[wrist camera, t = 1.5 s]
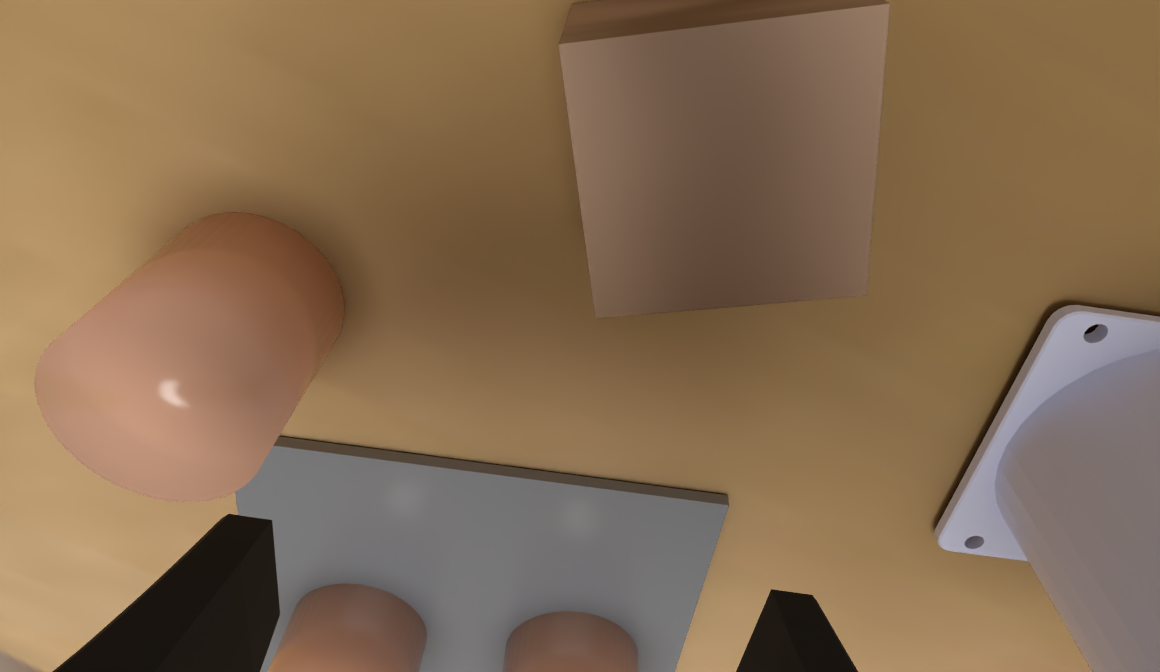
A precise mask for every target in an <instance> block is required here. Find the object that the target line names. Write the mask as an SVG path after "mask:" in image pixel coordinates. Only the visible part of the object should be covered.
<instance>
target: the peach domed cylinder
mask: <svg viewBox="0 0 1160 672" xmlns="http://www.w3.org/2000/svg"><path fill="white" fill-rule="evenodd" d="M426 641H427V631H426V627H425V624H424V622H423V620H422V619H421V617H420V616H419V614H418V613H417V612H416V611H415V610H414V609H413V608H412V607H411V606H410V605H409V604H407V603H406V602H405V601H403V600H402V599H400V598H398V597H397V596H395V595H393V594H391V593H389V592H386V591H384V590H381V589H378V588H374V587H370V586H366V585H360V584H333V585H328V586H323V587H320V588H317V589H315V590H313V591H311V592H309V593H308V594H306V595H305V596H304V597H302V598H301V599H300V600H299V602H298V603H297V605H296V607H295V609H294V611H293V614H292V616H291V618H290V620H289V623H288V625H287V627H286V630H285V632H284V634H283V637H282V639H281V641H280V644H279V646H278V648H277V650H276V653H275V655H274V657H273V660H272V662H271V664H270V667H269V669H268V671H267V672H419V670H420V666H421V662H422V658H423V654H424V650H425V646H426Z"/></svg>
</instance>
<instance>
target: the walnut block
mask: <svg viewBox="0 0 1160 672" xmlns="http://www.w3.org/2000/svg"><path fill="white" fill-rule="evenodd" d="M889 8H890V3H888V2H886V1H884V0H597V1H589V2H581V3H574V4H572V6H571V9H570V12H569V15H568V18H567V21H566V24H565V27H564V30H563V33H562V36H561V39H560V42H559V51H560V59H561V66H562V74H563V81H564V89H565V96H566V104H567V111H568V119H569V126H570V133H571V141H572V148H573V156H574V163H575V171H576V178H577V186H578V193H579V201H580V208H581V216H582V223H583V230H584V238H585V245H586V253H587V260H588V268H589V275H590V283H591V290H592V298H593V305H594V312H595V319H596V318H607V317H619V316H631V315H643V314H655V313H667V312H678V311H690V310H702V309H714V308H726V307H738V306H750V305H761V304H773V303H785V302H797V301H809V300H821V299H833V298H844V297H856V296H866V295H867V283H868V270H869V258H870V245H871V233H872V220H873V208H874V195H875V183H876V170H877V158H878V145H879V133H880V121H881V108H882V96H883V83H884V71H885V58H886V46H887V33H888V21H889Z"/></svg>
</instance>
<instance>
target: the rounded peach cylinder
mask: <svg viewBox="0 0 1160 672" xmlns="http://www.w3.org/2000/svg"><path fill="white" fill-rule="evenodd" d="M344 310H345V306H344V297H343V293H342V289H341V286H340V283H339V281H338V278H337V276H336V274H335V272H334V271H333V269H332V267H331V265H330V264H329V263H328V261H327V260H326V259H325V257H324V256H323V255H322V254H321V253H320V252H319V250H318V249H317V248H316V247H315V246H314V245H313V244H311V243H310V242H309V241H308V240H307V239H306V238H304V237H303V236H301V235H300V234H299V233H297V232H296V231H294V230H292V229H291V228H289V227H287V226H285V225H283V224H281V223H279V222H277V221H274V220H272V219H269V218H266V217H262V216H259V215H254V214H249V213H238V212H232V213H220V214H214V215H211V216H208V217H204V218H202V219H200V220H198V221H196V222H194V223H192V224H191V225H190V226H188V227H187V228H186V229H184V230H183V231H182V232H181V233H180V234H178V235H177V236H176V237H175V238H174V239H172V240H171V241H170V242H169V243H168V244H167V245H165V246H164V247H163V248H162V249H161V250H160V251H158V252H157V253H156V254H155V255H154V256H152V257H151V258H150V259H149V260H148V261H147V262H145V263H144V264H143V265H142V266H141V267H140V268H138V269H137V270H136V271H135V272H134V273H132V274H131V275H130V276H129V277H128V278H127V279H125V280H124V281H123V282H122V283H121V284H120V285H118V286H117V287H116V288H115V289H114V290H112V291H111V292H110V293H109V294H108V295H107V296H105V297H104V298H103V299H102V300H101V301H100V302H98V303H97V304H96V305H95V306H94V307H92V308H91V309H90V310H89V311H88V312H87V313H85V314H84V315H83V316H82V317H81V318H80V319H78V320H77V321H76V322H75V323H74V324H72V325H71V326H70V327H69V328H68V329H67V330H65V331H64V332H63V333H62V334H61V335H60V336H58V337H57V338H56V339H55V340H54V341H53V342H52V343H51V344H50V345H49V346H48V347H47V348H46V349H45V351H44V353H43V354H42V356H41V358H40V360H39V362H38V365H37V368H36V374H35V393H36V397H37V402H38V405H39V408H40V411H41V413H42V416H43V418H44V419H45V421H46V423H47V425H48V427H49V428H50V430H51V431H52V433H53V434H54V435H55V437H56V438H57V439H58V441H59V442H60V443H61V444H62V445H63V446H64V447H65V449H66V450H67V451H69V452H70V453H71V454H72V455H73V456H74V457H75V458H76V459H77V460H78V461H80V462H81V463H82V464H83V465H85V466H86V467H87V468H89V469H90V470H92V471H93V472H95V473H96V474H98V475H99V476H101V477H102V478H104V479H106V480H108V481H110V482H112V483H113V484H116V485H118V486H120V487H122V488H124V489H127V490H129V491H132V492H135V493H138V494H141V495H144V496H148V497H152V498H155V499H161V500H167V501H176V502H200V501H209V500H213V499H217V498H221V497H224V496H226V495H229V494H232V493H234V492H235V491H237V490H239V489H241V488H242V487H243V486H245V485H246V484H247V483H248V482H250V481H251V479H252V478H253V477H254V476H255V475H256V474H257V472H258V470H259V469H260V467H261V465H262V464H263V462H264V460H265V459H266V457H267V455H268V454H269V452H270V450H271V449H272V447H273V445H274V443H275V442H276V440H277V438H278V437H279V435H280V433H281V432H282V430H283V428H284V427H285V425H286V423H287V421H288V420H289V418H290V416H291V415H292V413H293V411H294V410H295V408H296V406H297V405H298V403H299V401H300V400H301V398H302V396H303V394H304V393H305V391H306V389H307V388H308V386H309V384H310V383H311V381H312V379H313V378H314V376H315V374H316V372H317V371H318V369H319V367H320V366H321V364H322V362H323V361H324V359H325V357H326V356H327V354H328V352H329V350H330V349H331V347H332V345H333V344H334V342H335V340H336V339H337V337H338V335H339V333H340V331H341V328H342V325H343V320H344Z"/></svg>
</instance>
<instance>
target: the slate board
mask: <svg viewBox="0 0 1160 672" xmlns="http://www.w3.org/2000/svg"><path fill="white" fill-rule="evenodd" d="M235 493H236V500H237V507H238V514H239V515H240V516H247V517H254V518H262V519H269V520H272V523H273V535H274V547H275V559H276V570H277V582H278V594H279V606H280V616H279V619H278V622H277V625H276V628H275V631H274V634H273V636H272V639H271V642H270V645H269V648H268V651H267V654H266V656H265V659H264V662H263V665H262V667H261V672H267V671H268V669H269V667H270V664H271V662H272V660H273V657H274V655H275V653H276V650H277V648H278V646H279V644H280V641H281V639H282V637H283V634H284V632H285V630H286V627H287V625H288V623H289V620H290V618H291V616H292V614H293V611H294V609H295V607H296V605H297V603H298V602H299V600H300V599H301V598H302V597H304V596H305V595H306V594H308V593H309V592H311V591H313V590H315V589H317V588H320V587H323V586H328V585H333V584H360V585H366V586H370V587H374V588H378V589H381V590H384V591H386V592H389V593H391V594H393V595H395V596H397V597H398V598H400V599H402V600H403V601H405V602H406V603H407V604H409V605H410V606H411V607H412V608H413V609H414V610H415V611H416V612H417V613H418V614H419V616H420V617H421V619H422V620H423V622H424V624H425V627H426V631H427V641H426V646H425V650H424V654H423V658H422V662H421V666H420V670H419V672H502V669H503V662H504V655H505V648H506V643H507V640H508V638H509V636H510V635H511V633H512V632H513V631H514V630H515V629H516V628H517V627H518V626H519V625H521V624H522V623H524V622H525V621H527V620H529V619H531V618H534V617H536V616H539V615H543V614H547V613H552V612H562V611H572V612H583V613H588V614H593V615H596V616H600V617H602V618H605V619H607V620H609V621H612V622H614V623H615V624H617V625H618V626H620V627H621V628H622V629H624V630H625V631H626V632H627V633H628V634H629V635H630V636H631V638H632V639H633V641H634V642H635V644H636V647H637V650H638V670H639V672H675V669H676V666H677V663H678V660H679V657H680V654H681V651H682V648H683V645H684V642H685V639H686V636H687V633H688V630H689V626H690V623H691V620H692V617H693V614H694V611H695V608H696V605H697V602H698V599H699V596H700V593H701V590H702V587H703V584H704V581H705V578H706V574H707V571H708V568H709V565H710V562H711V559H712V556H713V553H714V550H715V547H716V544H717V541H718V538H719V535H720V532H721V529H722V526H723V522H724V519H725V516H726V513H727V510H728V507H729V502H728V496H727V495H721V494H714V493H706V492H698V491H691V490H683V489H676V488H668V487H660V486H653V485H645V484H638V483H630V482H622V481H615V480H607V479H600V478H592V477H584V476H577V475H569V474H561V473H554V472H546V471H539V470H531V469H523V468H516V467H508V466H501V465H493V464H485V463H478V462H470V461H463V460H455V459H447V458H440V457H432V456H425V455H417V454H409V453H402V452H394V451H387V450H379V449H371V448H364V447H356V446H349V445H341V444H333V443H326V442H318V441H310V440H303V439H295V438H288V437H280V436H279V437H278V438H277V440H276V442H275V443H274V445H273V447H272V449H271V450H270V452H269V454H268V455H267V457H266V459H265V460H264V462H263V464H262V465H261V467H260V469H259V470H258V472H257V474H256V475H255V476H254V477H253V478H252V479H251V481H250V482H248V483H247V484H246V485H245V486H243V487H242V488H241V489H239V490H237V491H235Z"/></svg>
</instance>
